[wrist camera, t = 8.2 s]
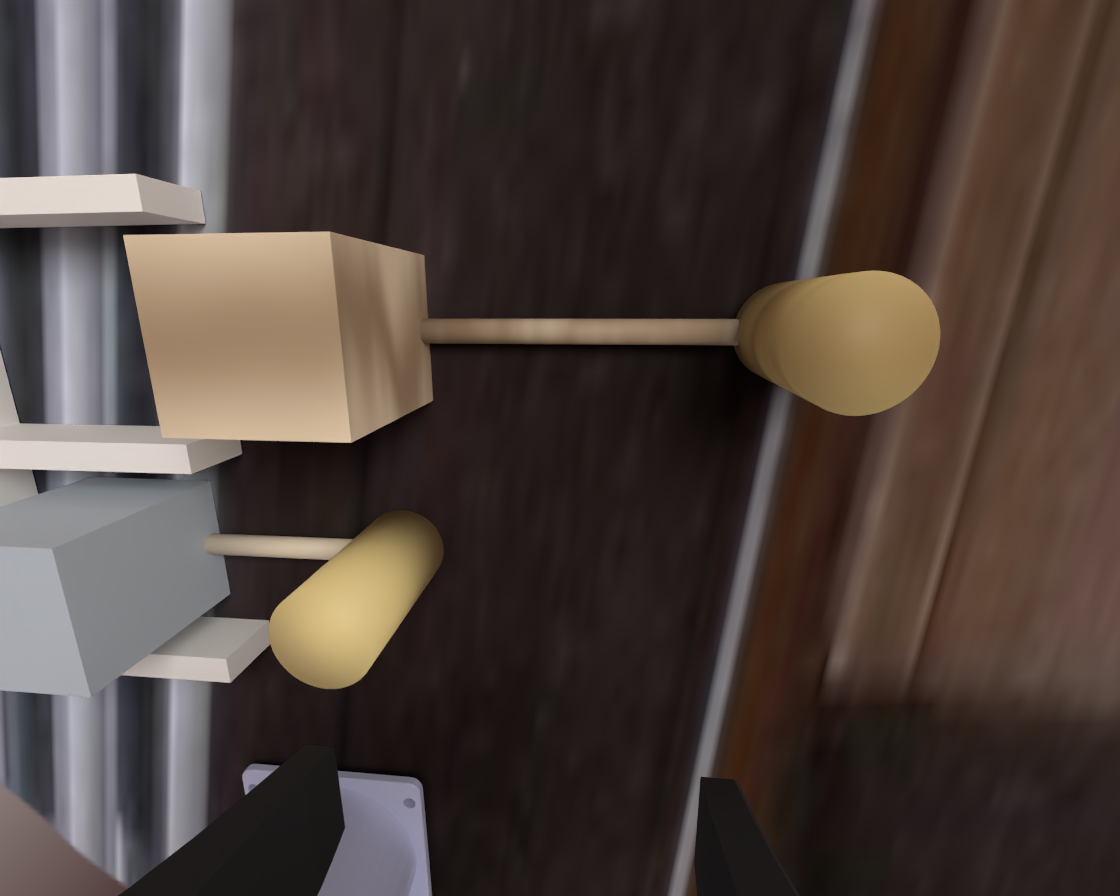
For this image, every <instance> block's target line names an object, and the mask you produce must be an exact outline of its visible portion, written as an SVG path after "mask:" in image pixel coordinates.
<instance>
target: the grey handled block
mask: <svg viewBox="0 0 1120 896" xmlns="http://www.w3.org/2000/svg"><path fill="white" fill-rule="evenodd" d="M224 555H234V556H255V557H277V558H298V559H320V560H329V561H328V562H327V563H326V564H325V565H323V566H322V567H321V568H320V569H319V570H318V571H317V572H316V573H314V574H313V575H312V576H311V577H310V578H309V579H308V580H306V581H305V582H304V583H303V584H302V585H301V586H300V587H298V588H297V589H296V590H295V591H294V592H293V593H292V594H290V595H289V596H288V597H287V598H286V599H285V600H284V601H283V602H281V603H280V604H279V605H278V606H277V608H276V609H275V611H274V612H273V614H272V616H271V619H270V623H269V640H270V644H271V647H272V650H273V652H274V654H275V656H276V658H277V659H278V661H279V662H280V663H281V665H282V666H283V667H284V668H285V669H286V670H287V671H288V672H289V673H290V674H292V675H293V676H294V677H296V678H297V679H299V680H300V681H302V682H304V683H306V684H309V685H312V686H315V687H319V688H325V689H338V688H343V687H347V686H350V685H352V684H354V683H356V682H357V681H359V680H360V679H361V678H362V677H363V676H364V675H365V674H366V673H367V672H368V670H369V669H370V667H371V666H372V664H373V663H374V661H375V660H376V658H377V657H378V656H379V654H380V653H381V651H382V650H383V648H384V647H385V645H386V644H387V642H388V641H389V640H390V638H391V637H392V635H393V634H394V632H395V631H396V629H397V628H398V627H399V625H400V624H401V622H402V621H403V619H404V618H405V616H406V615H407V613H408V612H409V611H410V609H411V608H412V606H413V605H414V603H415V602H416V600H417V599H418V598H419V596H420V595H421V593H422V592H423V590H424V589H425V587H426V586H427V584H428V583H429V582H430V580H431V579H432V577H433V576H434V574H435V573H436V571H437V570H438V568H439V567H440V565H441V563H442V560H443V555H444V547H443V542H442V538H441V536H440V534H439V532H438V530H437V529H436V527H435V526H434V525H433V524H432V523H431V522H430V521H429V520H428V519H427V518H425V517H424V516H422V515H420V514H418V513H415V512H413V511H408V510H393V511H389V512H386V513H384V514H382V515H381V516H379V517H378V518H377V519H376V520H375V521H374V522H372V523H371V524H370V525H369V526H368V527H367V528H366V529H364V530H363V531H362V532H361V533H360V534H359V535H358V536H356V537H355V538H354V539H337V538H313V537H290V536H266V535H242V534H220V532H219V527H218V521H217V515H216V510H215V504H214V498H213V493H212V487H211V482H210V481H203V480H171V479H139V478H107V477H90V478H87V479H84V480H81V481H78V482H75V483H72V484H69V485H66V486H63V487H60V488H56V489H53V490H50V491H47V492H44V493H41V494H38V495H35V496H32V497H29V498H26V499H23V500H20V501H17V502H14V503H10V504H7V505H4V506H1V507H0V690H4V691H17V692H30V693H43V694H55V695H68V696H81V697H92V696H94V695H95V694H96V693H98V692H99V691H100V690H102V689H103V688H104V687H106V686H107V685H108V684H110V683H111V682H112V681H114V680H115V679H116V678H118V677H119V676H121V675H122V674H123V673H125V672H126V671H127V670H129V669H130V668H131V667H133V666H134V665H135V664H137V663H138V662H139V661H141V660H142V659H143V658H145V657H146V656H147V655H149V654H150V653H152V652H153V651H154V650H156V649H157V648H158V647H160V646H161V645H162V644H164V643H165V642H166V641H168V640H169V639H170V638H172V637H173V636H174V635H176V634H177V633H178V632H180V631H181V630H183V629H184V628H185V627H187V626H188V625H189V624H191V623H192V622H193V621H195V620H196V619H197V618H199V617H200V616H201V615H203V614H204V613H205V612H207V611H208V610H209V609H211V608H212V607H214V606H215V605H216V604H218V603H219V602H220V601H222V600H223V599H224V598H226V597H227V596H228V595H230V589H229V583H228V578H227V572H226V566H225V561H224Z"/></svg>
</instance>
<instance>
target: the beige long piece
mask: <svg viewBox="0 0 1120 896" xmlns="http://www.w3.org/2000/svg"><path fill="white" fill-rule="evenodd" d="M123 238H124V243H125V248H126V253H127V258H128V264H129V269H130V274H131V279H132V284H133V289H134V295H135V300H136V305H137V310H138V315H139V320H140V326H141V331H142V336H143V341H144V346H145V351H146V356H147V362H148V367H149V372H150V377H151V382H152V387H153V393H154V398H155V403H156V408H157V413H158V418H159V424H160V429H161V434H162V438H187V439H225V440H263V441H302V442H340V443H352V442H354V441H356V440H358V439H360V438H362V437H364V436H366V435H367V434H369V433H371V432H373V431H375V430H377V429H379V428H381V427H383V426H385V425H387V424H389V423H391V422H393V421H395V420H397V419H398V418H400V417H402V416H404V415H406V414H408V413H410V412H412V411H414V410H416V409H418V408H420V407H422V406H424V405H426V404H428V403H430V402H431V401H433V392H432V376H431V359H430V343H441V344H599V345H734V348H735V351H736V354H737V356H738V358H739V359H740V361H741V362H742V363H743V365H744V366H745V367H747V368H748V369H749V370H750V371H752V372H753V373H755V374H757V375H759V376H761V377H763V378H765V379H767V380H768V381H770V382H772V383H774V384H776V385H778V386H780V387H782V388H784V389H786V390H788V391H790V392H792V393H794V394H796V395H798V396H800V397H802V398H804V399H806V400H807V401H809V402H811V403H813V404H815V405H817V406H819V407H821V408H823V409H825V410H827V411H830V412H833V413H836V414H841V415H849V416H862V415H869V414H874V413H877V412H881V411H884V410H886V409H888V408H891V407H893V406H895V405H896V404H898V403H900V402H901V401H903V400H904V399H906V398H907V397H909V396H910V395H911V394H912V393H913V392H914V391H915V390H916V389H917V388H918V387H919V386H920V385H921V384H922V383H923V381H924V380H925V378H926V377H927V375H928V374H929V372H930V370H931V368H932V367H933V365H934V362H935V359H936V357H937V353H938V349H939V344H940V324H939V319H938V315H937V312H936V309H935V307H934V305H933V303H932V302H931V300H930V298H929V297H928V296H927V294H926V293H925V292H924V291H923V290H922V289H921V288H920V287H919V286H918V285H916V284H915V283H913V282H912V281H911V280H909V279H907V278H905V277H903V276H900V275H897V274H894V273H890V272H885V271H862V272H855V273H848V274H840V275H833V276H825V277H818V278H811V279H803V280H796V281H788V282H781V283H776V284H772V285H769V286H766V287H764V288H762V289H760V290H759V291H757V292H755V293H754V294H753V295H752V296H750V297H749V298H748V299H747V301H746V302H745V303H744V304H743V305H742V307H741V308H740V310H739V312H738V314H737V316H736V319H428V311H427V294H426V278H425V262H424V255H421V254H417V253H413V252H409V251H405V250H401V249H397V248H393V247H389V246H385V245H381V244H377V243H373V242H369V241H365V240H361V239H357V238H353V237H349V236H345V235H341V234H337V233H333V232H282V233H218V234H155V235H123Z"/></svg>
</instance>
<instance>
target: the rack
mask: <svg viewBox="0 0 1120 896" xmlns="http://www.w3.org/2000/svg"><path fill="white" fill-rule="evenodd" d="M170 224H206V223H205V217H204V211H203V204H202V198H201V192H200V191H198V190H194V189H190V188H186V187H183V186H179V185H175V184H172V183H168V182H164V181H161V180H157V179H153V178H149V177H146V176H142V175H138V174H113V175H82V176H51V177H20V178H0V228H31V227H77V226H124V225H170ZM241 454H242V449H241V442H240V440H225V439H187V438H162V434H161V429H160V426H123V425H72V424H21V423H19V419H18V415H17V411H16V408H15V404H14V400H13V396H12V392H11V389H10V385H9V381H8V377H7V374H6V370H5V366H4V362H3V358H2V355H1V351H0V507H1V506H4V505H7V504H10V503H14V502H17V501H20V500H23V499H26V498H29V497H32V496H35V495H38V491H37V487H36V483H35V480H34V476H33V472H32V469H33V470H68V471H102V472H136V473H171V474H193V473H196V472H198V471H201V470H203V469H206V468H208V467H211V466H213V465H216V464H218V463H221V462H223V461H226V460H228V459H231V458H233V457H236V456H238V455H241ZM269 645H270V640H269V620H253V619H236V618H219V617H201V616H200V617H199V618H197V619H196V620H195V621H193V622H192V623H191V624H189V625H188V626H187V627H185V628H184V629H183V630H181V631H180V632H178V633H177V634H176V635H174V636H173V637H172V638H170V639H169V640H168V641H166V642H165V643H164V644H162V645H161V646H160V647H158V648H157V649H156V650H154V651H153V652H152V653H150V654H149V655H147V656H146V657H145V658H143V659H142V660H141V661H139V662H138V663H137V664H135V665H134V666H133V667H131V668H130V669H129V670H127V671H126V672H125V673H123V674H122V675H127V676H141V677H155V678H169V679H183V680H197V681H212V682H226V683H231V682H232V681H233V680H234V679H235V678H236V677H237V676H238V675H239V674H240V673H241V672H242V671H243V670H244V669H245V668H246V667H247V666H248V665H249V664H250V663H251V662H252V661H253V660H254V659H255V658H256V657H257V656H259V655H260V654H261V653H262V652H263V651H264V650H265V649H266V648H267V647H268V646H269Z"/></svg>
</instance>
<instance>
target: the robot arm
mask: <svg viewBox="0 0 1120 896" xmlns="http://www.w3.org/2000/svg"><path fill="white" fill-rule="evenodd" d="M242 779H243V785H244V790H245V796H244V797H243V798H241V799H240V800H239V801H238V802H237V803H235V804H234V805H233V806H232V807H231V808H229V809H228V810H227V811H226V812H225V813H223V814H222V815H221V816H220V817H218V818H217V819H216V820H215V821H214V822H212V823H211V824H210V825H209V826H208V827H206V828H205V829H204V830H203V831H202V832H200V833H199V834H198V835H197V836H195V837H194V838H193V839H192V840H190V841H189V842H188V843H186V844H185V845H184V846H183V847H181V848H180V849H179V850H177V851H176V852H175V853H174V854H172V855H171V856H170V857H168V858H167V859H166V860H165V861H163V862H162V863H161V864H159V865H158V866H157V867H155V868H154V869H153V870H152V871H150V872H149V873H148V874H146V875H145V876H144V877H143V878H141V879H140V880H139V881H137V882H136V883H135V884H134V885H132V886H131V887H130V888H128V889H127V890H125V891H124V892H123V893H121V894H120V895H119V896H432V888H431V876H430V865H429V853H428V841H427V830H426V818H425V806H424V795H423V786H422V784H421V783H420V781H419V780H417V779H416V778H412V777H403V776H392V775H380V774H369V773H357V772H346V771H338V770H337V762H336V755H335V747H331V746H318V745H305V746H303V747H302V748H301V749H300V750H298V751H297V752H296V753H295V754H294V755H292V756H291V757H290V758H289V759H288V760H286V761H285V762H284V763H283V764H282V765H280V766H277V765H265V764H251V765H249V766H248V767H247V769H246V770H245V771H244V773H243V774H242ZM409 798H410V799H409ZM411 799H412V800H411ZM694 864H695V874H696V885H697V895H698V896H800V895H799V894H798V892H797V890H796V889H795V887H794V885H793V884H792V882H791V881H790V879H789V877H788V876H787V874H786V872H785V870H784V869H783V867H782V865H781V863H780V862H779V860H778V858H777V856H776V855H775V853H774V851H773V849H772V847H771V846H770V844H769V842H768V840H767V838H766V837H765V835H764V833H763V831H762V829H761V827H760V825H759V823H758V822H757V820H756V818H755V816H754V814H753V812H752V810H751V808H750V806H749V804H748V802H747V800H746V798H745V796H744V794H743V791H742V789H741V787H740V785H739V784H738V783H737V782H736V781H735V780H732V779H720V778H708V777H701V780H700V794H699V807H698V820H697V833H696V846H695V860H694Z"/></svg>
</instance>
